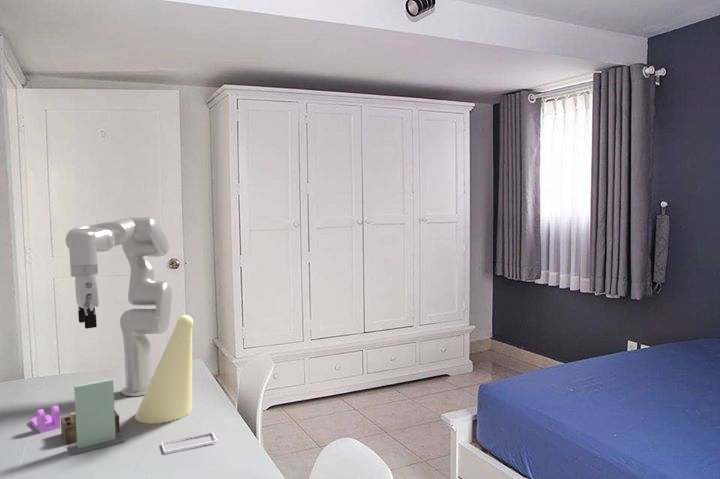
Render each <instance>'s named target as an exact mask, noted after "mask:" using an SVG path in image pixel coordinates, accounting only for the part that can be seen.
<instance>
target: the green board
mask: <svg viewBox="0 0 720 479" xmlns="http://www.w3.org/2000/svg"><path fill="white" fill-rule="evenodd" d="M73 388H74V390H73V391H74V407H75V409H74V410H75V411H74V412H75V413H76V434H77V442H76V443H77V446H78V448H82V447H86V446H90V445H94V444H98V443H102V442H106V441H110V440H114V439H116V437H115V433H116V432H115V414H114V409H115V397H114V396H115V395H114V394H115V393H114V380H113V378H111V377H110V378H105V379H100V380H94V381H90V382H89V381H88V382H84V383H83V382H82V383H78V384H74V385H73Z"/></svg>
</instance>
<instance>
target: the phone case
mask: <svg viewBox="0 0 720 479" xmlns="http://www.w3.org/2000/svg"><path fill="white" fill-rule="evenodd" d="M207 434H212V435H213V436H212V435H211V436H212V437H214V440H211V441H210V440H209V441H206V442H201V443H196V444H191V445H188V446H187V445H186V446H182V447H177V448H172V449H167V450H166V449H165V447H164V445H168V444H169V442H170V443H171V442H175V441H180V440H183V441H186V439H188V440H191V439H190V438H193V439H195V438H194V437H198V436H203V435H207ZM203 437H204V436H203ZM198 438H199V437H198ZM213 443H217V444H218V438H217V437H216V435H215V433H214V432H213V431H210V432H205V433H198V434H195V435H190V436H183V437H180V438H174V439H169V440H164V441H161V443H160V444H161V449H162V452H163V455H168V454H174V453H178V452H183V450H184V451H188V450H187V449H189V450H192V449H191V448H193V449H196V448H195V447H198V448H200V447H199V446H203V447H205V446H204V445H208V444H213ZM213 445H214V444H213ZM208 446H209V445H208Z"/></svg>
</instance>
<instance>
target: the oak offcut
mask: <svg viewBox="0 0 720 479" xmlns="http://www.w3.org/2000/svg"><path fill="white" fill-rule="evenodd" d="M69 416H70V420H71V425H76V413H75V411H71V412H69Z"/></svg>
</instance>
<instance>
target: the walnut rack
mask: <svg viewBox="0 0 720 479" xmlns="http://www.w3.org/2000/svg"><path fill="white" fill-rule="evenodd" d="M114 414H115V433H119V432H121V429H120V428H121V427H120V426H121V425H120V415H119V414H118V412H117V411H116V409H115V408H114ZM60 431H61V432H60V433H61V435H62V438H63V441H64V444H65V445H69V444H73V443H77V434H76V425H71V420H70V415H69V416H63V417H60Z"/></svg>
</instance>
